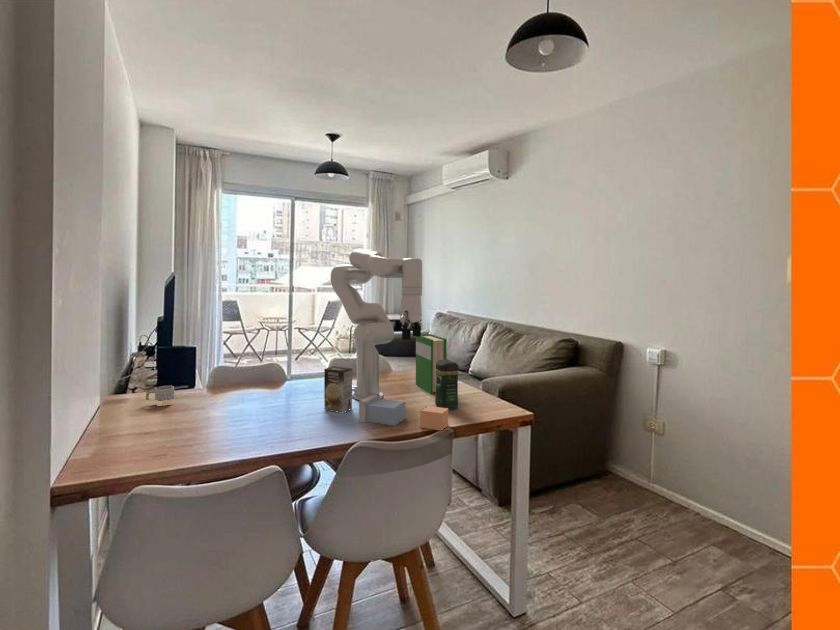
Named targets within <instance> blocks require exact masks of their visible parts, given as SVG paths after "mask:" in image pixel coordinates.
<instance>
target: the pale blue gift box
mask: <svg viewBox="0 0 840 630" xmlns="http://www.w3.org/2000/svg"><path fill="white" fill-rule="evenodd" d="M406 404H407V403H406V401H399V400H395V399H394V400H392V399H383V398H381V399H379V395H377V394H373V395H371V396H369V397H367V398H365V399H363V400H358V422H359V421H360V423H366V421H367V423H372V422H373V424H379V423H380V424H381V425H386V424H387V425H388V426H393V425H394V427H395V426H396V425H398V424H399V422H400V423H401V422H403V421H404V420H405V419H406V411H407V410H406V409H407V408H406ZM403 419H404V420H403ZM387 425H386V426H387Z"/></svg>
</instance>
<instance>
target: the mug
mask: <svg viewBox="0 0 840 630" xmlns="http://www.w3.org/2000/svg"><path fill="white" fill-rule="evenodd" d="M145 392H146V393H145V401H146V400H150V398H149V395H150V394H154V400H158V401H164V400H171V399H174V398H175V386H174V385H162V386H158V387H155V388H154V389H152V390H148V391H145Z"/></svg>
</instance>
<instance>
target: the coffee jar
mask: <svg viewBox="0 0 840 630" xmlns="http://www.w3.org/2000/svg"><path fill="white" fill-rule="evenodd" d="M459 371H460V370H459V364H458V363H457V362H454V361H451V360H449V359H446V360H439V361H438V362H437V363H436V392H435V395H434V396H435V397H434V398H435V400H434V401H435V403H434V404H435V407H440V408H448V411H450V410H451V411H452V410H454V409H457V408H458V407H459V389H458V387H459V381H458V380H459Z"/></svg>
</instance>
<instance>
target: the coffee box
mask: <svg viewBox="0 0 840 630" xmlns="http://www.w3.org/2000/svg"><path fill="white" fill-rule="evenodd" d="M323 372H324V379H323V380H324V381H323V382H324V385H323V386H324V387H323V388H324V393H323V395H324V396H323V397H324V399H323V400H324V401H323V402H324V408H323V409H327V410H326V411H329V410H333V411H332V412H334V411H338V412H337V413H340V412H345V411H347V410H349V409H351V410H352V409H353V391H352V386H353V368H350V367H343V366H337V365H333V366H329V367H327V368H324V370H323ZM349 411H350V410H349ZM347 412H348V411H347ZM345 413H346V412H345Z"/></svg>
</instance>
